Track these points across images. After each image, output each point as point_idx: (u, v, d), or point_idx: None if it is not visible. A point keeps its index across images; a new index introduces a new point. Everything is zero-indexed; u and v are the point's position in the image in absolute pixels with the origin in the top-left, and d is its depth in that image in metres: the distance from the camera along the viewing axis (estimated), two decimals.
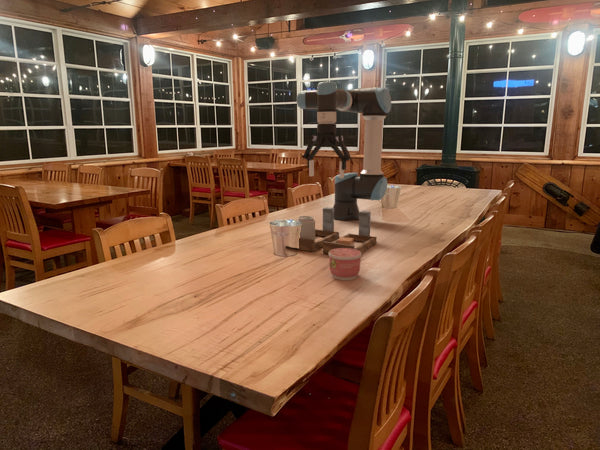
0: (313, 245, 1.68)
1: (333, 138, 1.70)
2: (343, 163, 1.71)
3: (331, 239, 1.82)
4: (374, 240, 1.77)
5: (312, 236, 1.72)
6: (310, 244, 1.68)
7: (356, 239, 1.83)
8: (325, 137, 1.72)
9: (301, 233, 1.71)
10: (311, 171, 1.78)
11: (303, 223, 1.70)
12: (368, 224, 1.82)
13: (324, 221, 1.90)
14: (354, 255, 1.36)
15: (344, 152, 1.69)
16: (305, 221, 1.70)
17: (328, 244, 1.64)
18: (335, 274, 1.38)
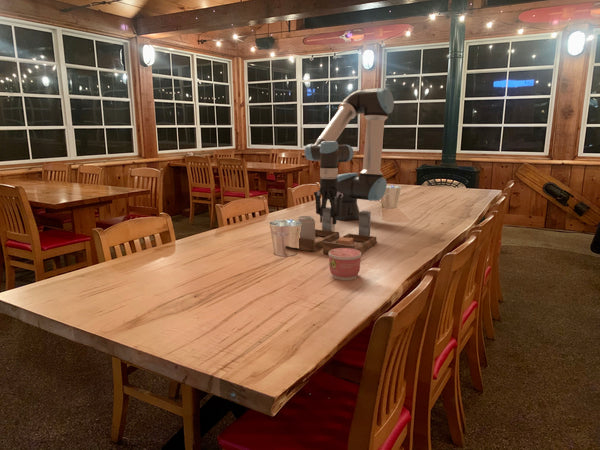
0: (313, 245, 1.68)
1: (334, 192, 1.86)
2: (334, 218, 1.89)
3: (331, 239, 1.82)
4: (374, 240, 1.77)
5: (312, 236, 1.72)
6: (310, 244, 1.68)
7: (356, 239, 1.83)
8: (327, 190, 1.87)
9: (301, 233, 1.71)
10: None
11: (303, 223, 1.70)
12: (368, 224, 1.82)
13: (324, 221, 1.90)
14: (354, 255, 1.36)
15: (337, 209, 1.86)
16: (305, 221, 1.70)
17: (328, 244, 1.64)
18: (335, 274, 1.38)
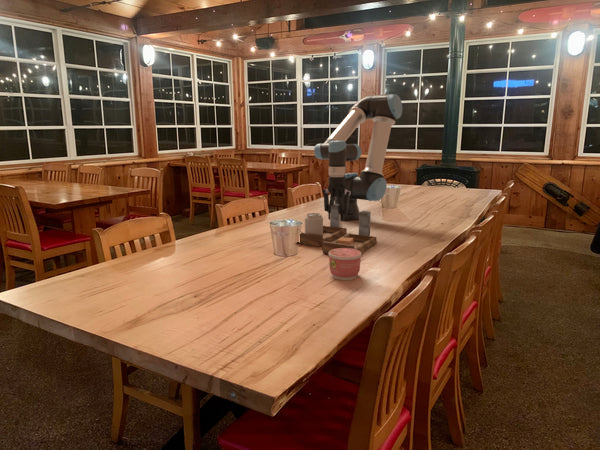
0: (322, 240, 1.75)
1: (342, 190, 1.93)
2: (341, 215, 1.96)
3: (339, 235, 1.88)
4: (374, 240, 1.77)
5: (320, 232, 1.78)
6: (320, 239, 1.74)
7: (356, 239, 1.83)
8: (335, 188, 1.94)
9: (309, 229, 1.77)
10: None
11: (311, 220, 1.76)
12: (368, 224, 1.82)
13: (332, 218, 1.97)
14: (354, 255, 1.36)
15: (345, 206, 1.93)
16: (313, 218, 1.76)
17: (328, 244, 1.64)
18: (335, 274, 1.38)
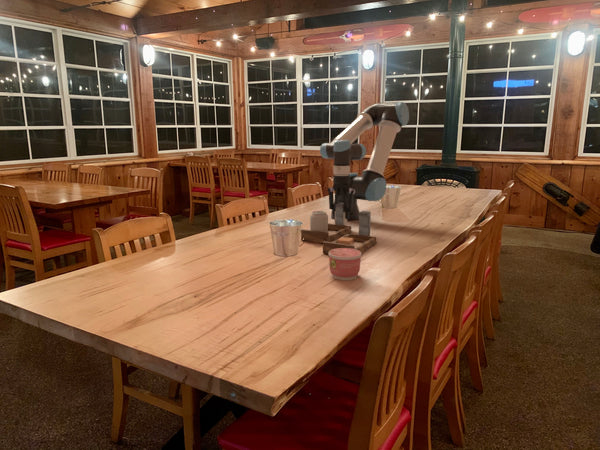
0: (328, 238, 1.79)
1: (347, 188, 1.97)
2: (346, 213, 2.00)
3: (344, 232, 1.92)
4: (374, 240, 1.77)
5: (325, 230, 1.82)
6: (325, 237, 1.78)
7: (356, 239, 1.83)
8: (340, 187, 1.98)
9: (315, 227, 1.81)
10: None
11: (317, 217, 1.80)
12: (368, 224, 1.82)
13: (337, 216, 2.01)
14: (354, 255, 1.36)
15: (350, 204, 1.97)
16: (319, 215, 1.80)
17: (328, 244, 1.64)
18: (335, 274, 1.38)
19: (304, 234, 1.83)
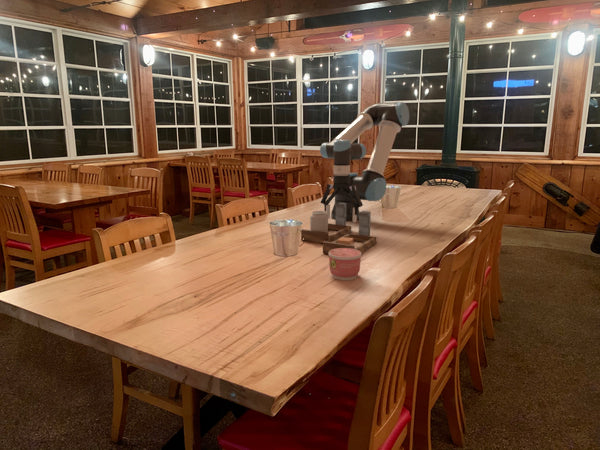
0: (328, 238, 1.79)
1: (347, 188, 1.97)
2: (356, 209, 1.97)
3: (344, 232, 1.92)
4: (374, 240, 1.77)
5: (325, 230, 1.83)
6: (325, 237, 1.78)
7: (356, 239, 1.83)
8: (340, 186, 1.98)
9: (315, 227, 1.81)
10: (327, 214, 2.05)
11: (317, 217, 1.80)
12: (368, 224, 1.82)
13: (337, 216, 2.01)
14: (354, 255, 1.36)
15: (357, 200, 1.95)
16: (319, 215, 1.80)
17: (328, 244, 1.64)
18: (335, 274, 1.38)
19: (304, 234, 1.83)
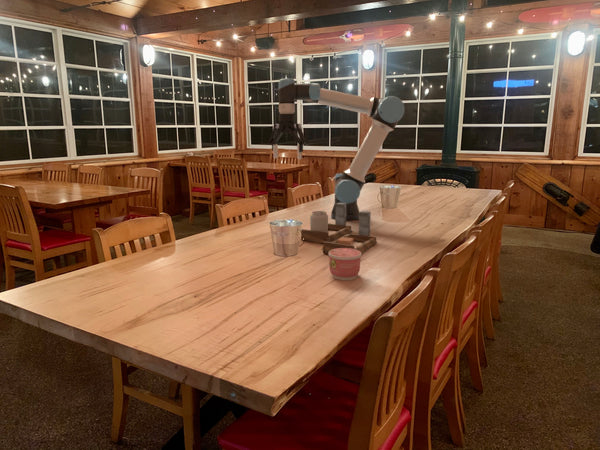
0: (328, 238, 1.79)
1: (292, 125, 2.05)
2: (300, 146, 2.05)
3: (344, 232, 1.92)
4: (374, 240, 1.77)
5: (325, 230, 1.83)
6: (325, 237, 1.78)
7: (356, 239, 1.83)
8: (285, 125, 2.06)
9: (315, 227, 1.81)
10: (275, 154, 2.13)
11: (317, 217, 1.80)
12: (368, 224, 1.82)
13: (337, 216, 2.01)
14: (354, 255, 1.36)
15: (300, 137, 2.03)
16: (319, 215, 1.80)
17: (328, 244, 1.64)
18: (335, 274, 1.38)
19: (304, 234, 1.83)
